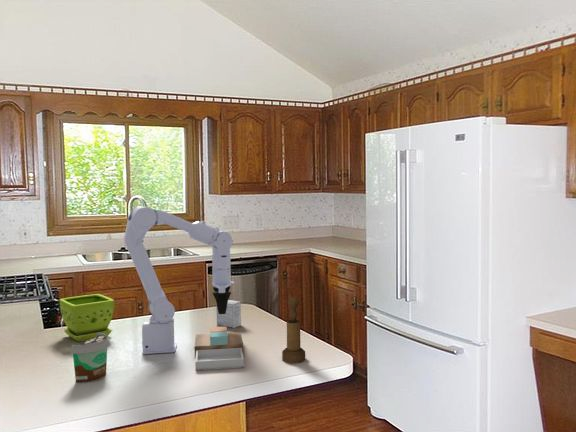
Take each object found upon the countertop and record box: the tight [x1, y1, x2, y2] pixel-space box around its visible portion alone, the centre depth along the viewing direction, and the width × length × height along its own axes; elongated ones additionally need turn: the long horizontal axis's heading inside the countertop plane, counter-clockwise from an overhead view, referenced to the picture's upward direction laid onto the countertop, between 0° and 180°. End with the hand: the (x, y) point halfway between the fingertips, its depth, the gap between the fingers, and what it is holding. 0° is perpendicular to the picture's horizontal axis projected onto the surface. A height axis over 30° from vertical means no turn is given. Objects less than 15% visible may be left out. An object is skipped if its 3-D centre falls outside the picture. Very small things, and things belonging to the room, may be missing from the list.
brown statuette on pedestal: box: [281, 296, 306, 364], centre depth 148 cm, size 7×6×18 cm
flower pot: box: [59, 293, 115, 343], centre depth 173 cm, size 14×14×13 cm
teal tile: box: [209, 330, 228, 346], centre depth 153 cm, size 5×5×2 cm
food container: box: [70, 333, 111, 384], centre depth 136 cm, size 12×6×10 cm, turn 168°
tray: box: [194, 348, 245, 372], centre depth 146 cm, size 13×10×2 cm
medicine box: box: [215, 299, 242, 329], centre depth 185 cm, size 8×4×9 cm, turn 58°
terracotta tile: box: [209, 326, 228, 333], centre depth 159 cm, size 5×5×2 cm
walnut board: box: [194, 331, 244, 359], centre depth 157 cm, size 14×12×4 cm
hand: (222, 310), depth 166 cm, fingers open, 7 cm apart
